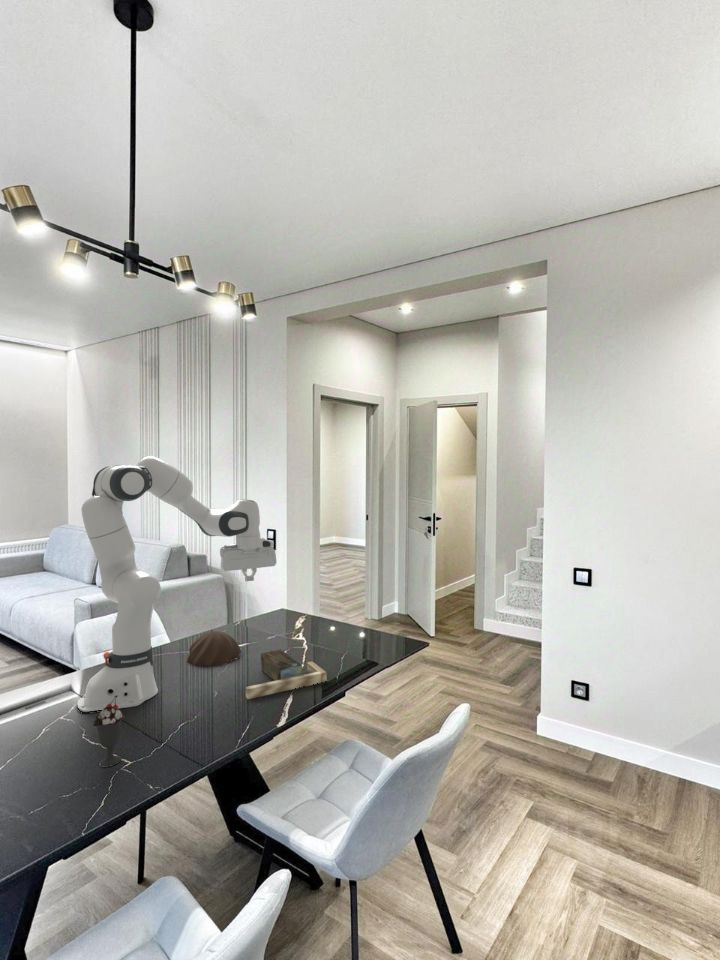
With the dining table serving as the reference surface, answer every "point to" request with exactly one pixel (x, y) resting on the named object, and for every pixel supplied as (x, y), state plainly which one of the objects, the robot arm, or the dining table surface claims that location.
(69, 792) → the dining table surface
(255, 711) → the dining table surface
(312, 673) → the oak fence
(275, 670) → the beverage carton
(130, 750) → the dining table surface
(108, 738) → the sundae
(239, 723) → the dining table surface
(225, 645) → the decorative dome
